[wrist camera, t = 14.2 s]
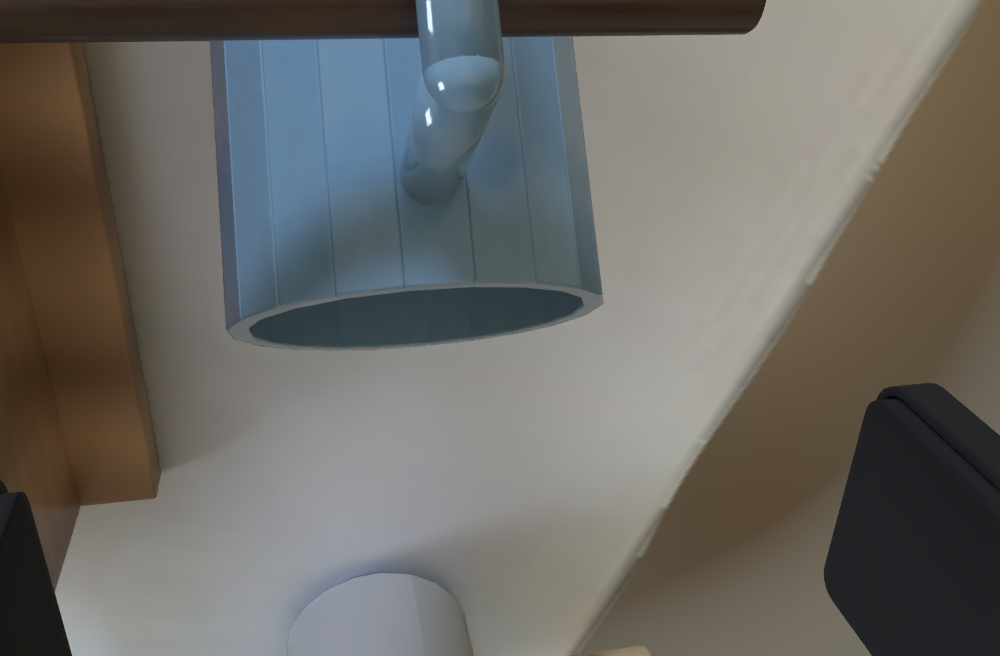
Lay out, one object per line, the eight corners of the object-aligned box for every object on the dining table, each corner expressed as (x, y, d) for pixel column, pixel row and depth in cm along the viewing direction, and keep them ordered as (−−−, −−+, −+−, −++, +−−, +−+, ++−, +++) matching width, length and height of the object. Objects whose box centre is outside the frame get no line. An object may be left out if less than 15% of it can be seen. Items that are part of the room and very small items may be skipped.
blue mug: (516, -11, 23) (553, 336, 22) (224, -11, 22) (246, 359, 21) (684, -454, 12) (779, 193, 11) (115, -511, 11) (148, 222, 10)
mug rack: (-316, -345, 21) (-2225, -901, 5) (518, -296, 25) (947, -525, 9) (-48, 494, 32) (-372, 1141, 16) (496, 440, 36) (665, 925, 20)
